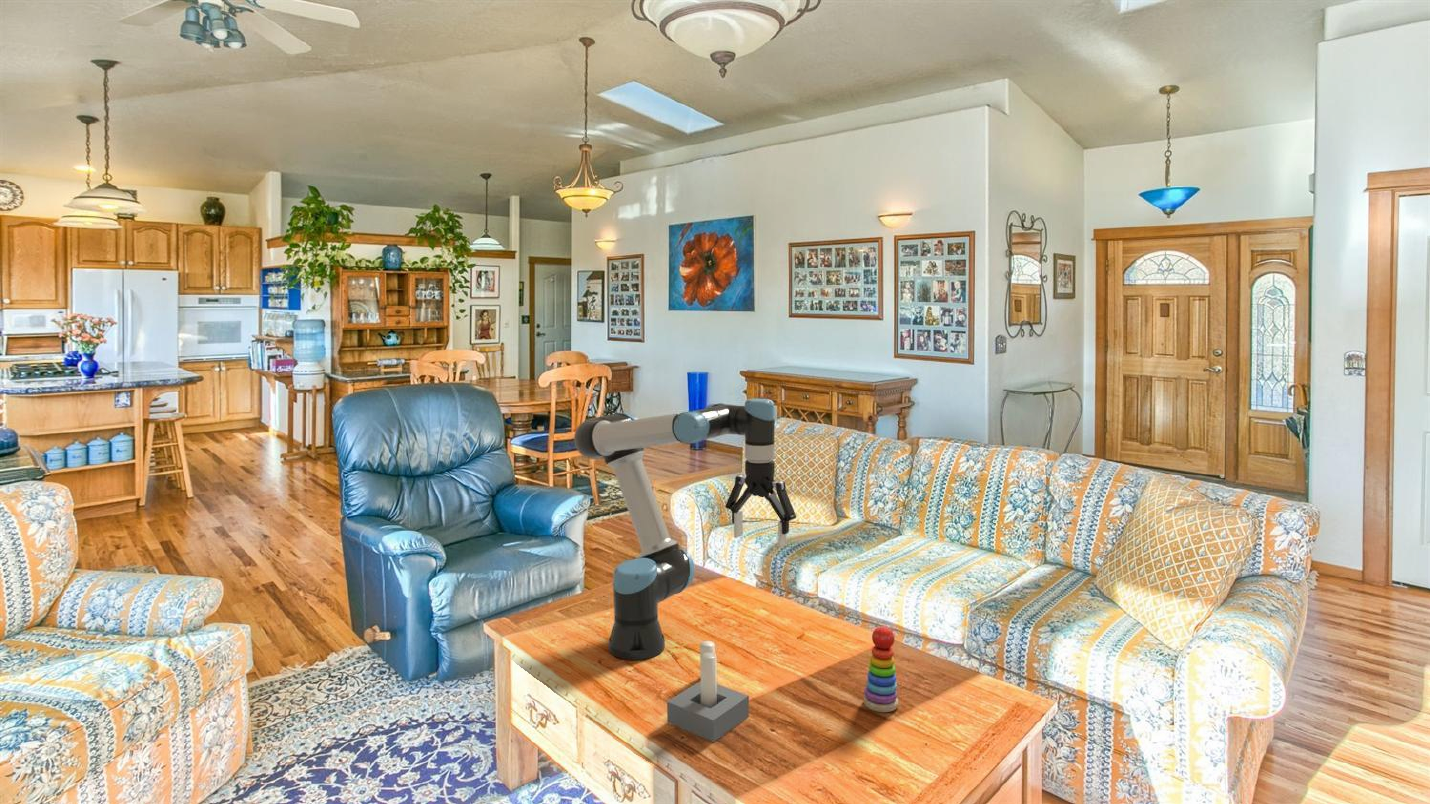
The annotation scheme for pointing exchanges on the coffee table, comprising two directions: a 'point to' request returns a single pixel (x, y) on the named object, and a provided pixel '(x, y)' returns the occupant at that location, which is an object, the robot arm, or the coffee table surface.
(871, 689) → the stacking toy
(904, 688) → the coffee table surface
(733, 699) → the hole block
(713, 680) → the tall pin
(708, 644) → the short pin
